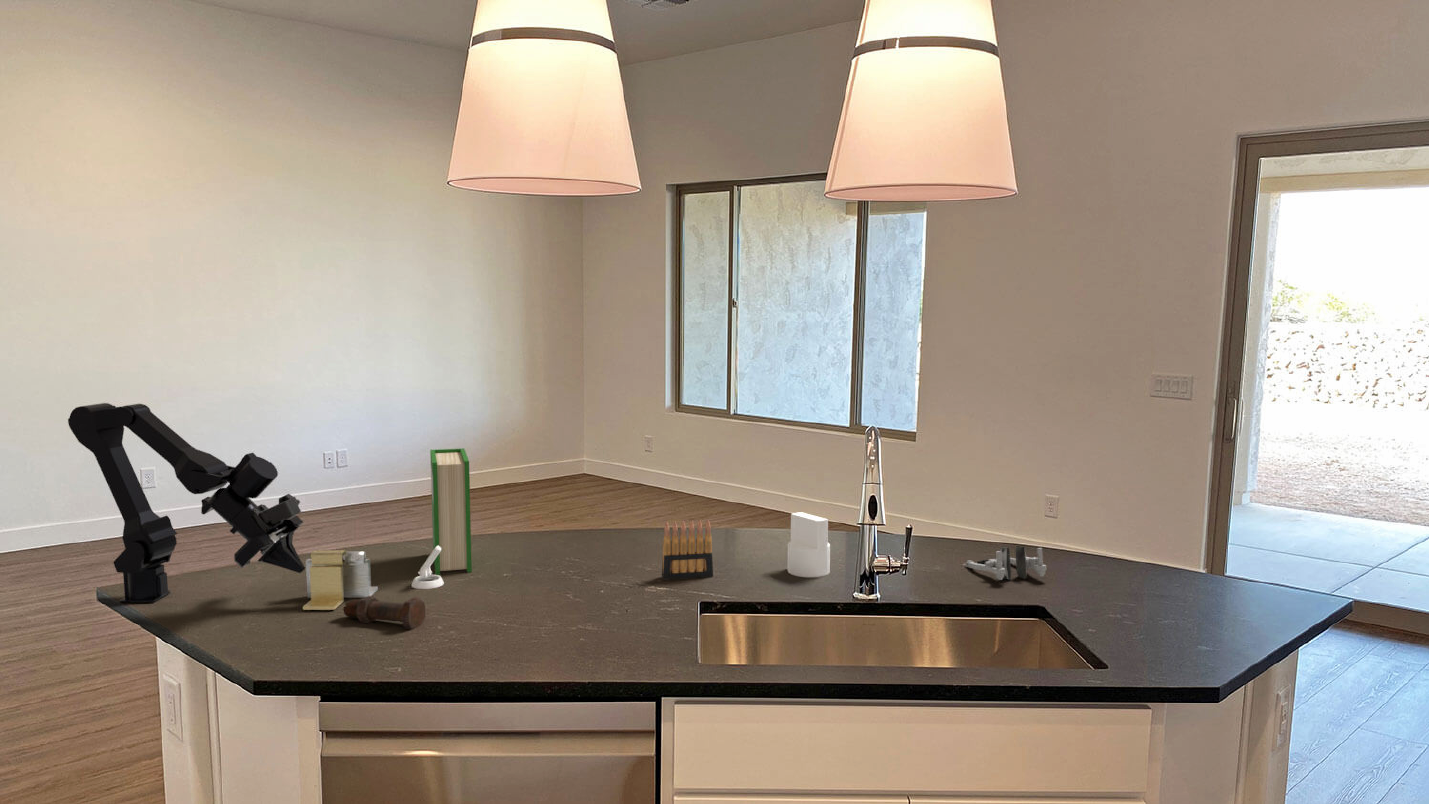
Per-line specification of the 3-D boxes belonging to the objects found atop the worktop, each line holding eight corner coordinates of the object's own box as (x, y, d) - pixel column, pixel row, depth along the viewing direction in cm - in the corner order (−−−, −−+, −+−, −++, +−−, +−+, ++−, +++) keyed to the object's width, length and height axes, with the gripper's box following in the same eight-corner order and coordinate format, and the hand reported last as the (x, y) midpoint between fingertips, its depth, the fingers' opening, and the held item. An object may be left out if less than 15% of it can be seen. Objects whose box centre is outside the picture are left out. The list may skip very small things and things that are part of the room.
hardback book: (471, 572, 209) (469, 461, 207) (435, 575, 207) (432, 462, 204) (466, 551, 226) (464, 448, 223) (433, 553, 224) (430, 449, 221)
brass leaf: (302, 609, 183) (300, 560, 182) (317, 597, 190) (315, 550, 189) (334, 609, 183) (332, 560, 182) (347, 597, 191) (346, 550, 190)
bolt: (352, 626, 181) (421, 633, 176) (334, 620, 177) (405, 627, 172) (360, 595, 183) (429, 601, 178) (343, 588, 179) (413, 594, 174)
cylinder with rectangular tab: (778, 569, 212) (779, 515, 211) (809, 563, 218) (810, 510, 216) (807, 579, 205) (807, 523, 204) (838, 572, 211) (839, 517, 209)
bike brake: (1054, 579, 204) (1007, 567, 223) (1052, 546, 204) (1005, 537, 223) (994, 584, 201) (951, 572, 220) (992, 550, 201) (949, 541, 221)
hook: (457, 568, 197) (432, 554, 195) (431, 605, 199) (406, 591, 197) (462, 554, 203) (437, 540, 201) (436, 589, 205) (412, 576, 203)
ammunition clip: (663, 579, 205) (663, 523, 203) (661, 577, 207) (661, 521, 205) (713, 576, 207) (713, 520, 206) (711, 574, 209) (711, 518, 208)
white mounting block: (300, 602, 188) (298, 553, 187) (317, 589, 197) (315, 541, 196) (363, 602, 188) (361, 553, 187) (377, 589, 197) (376, 541, 196)
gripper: (249, 494, 176) (313, 555, 177) (291, 474, 194) (349, 530, 196) (206, 537, 177) (270, 597, 178) (252, 513, 195) (310, 568, 197)
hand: (302, 570), depth 187 cm, fingers closed
